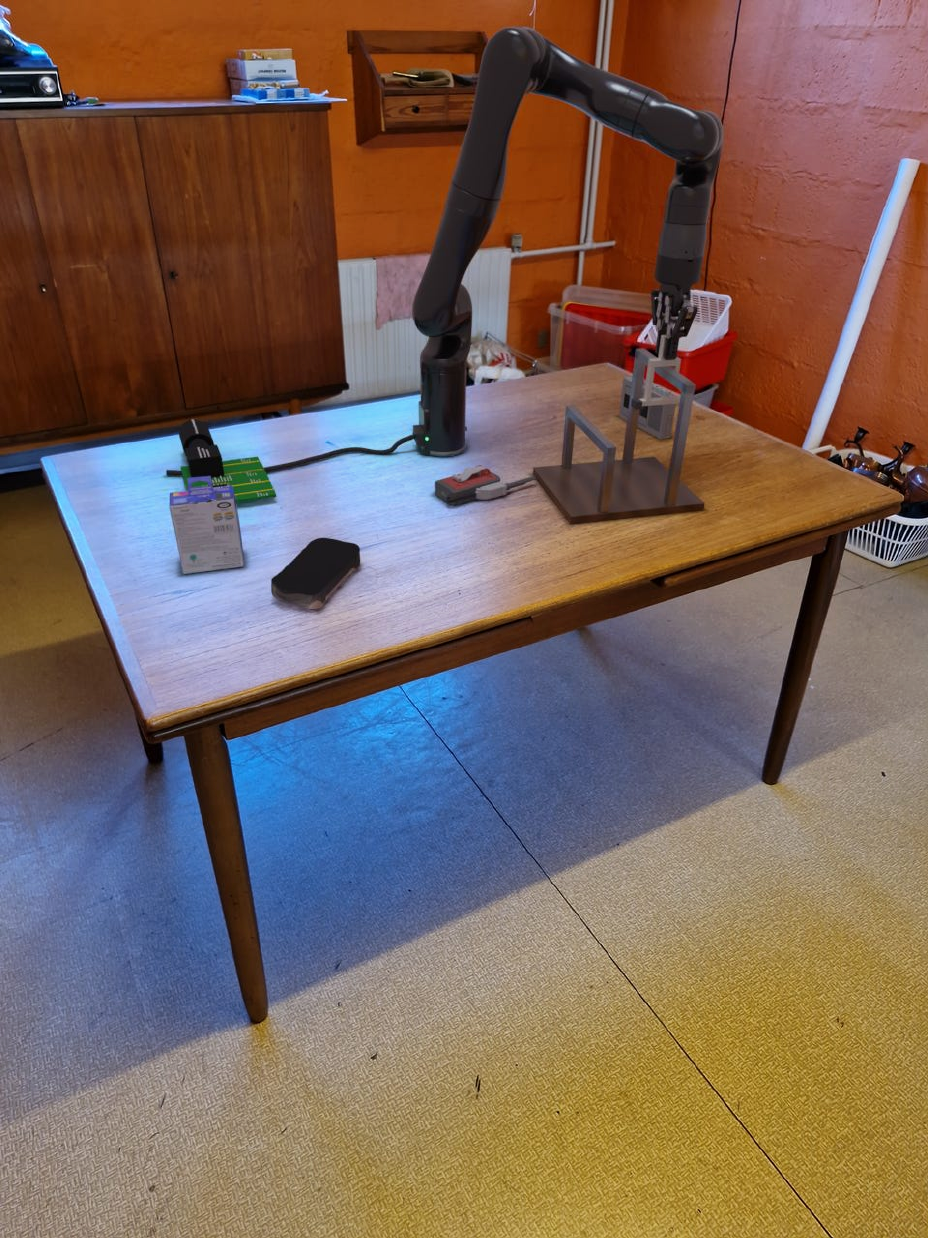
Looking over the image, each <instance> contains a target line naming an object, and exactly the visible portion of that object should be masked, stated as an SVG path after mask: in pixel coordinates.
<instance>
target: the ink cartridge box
mask: <svg viewBox="0 0 928 1238" xmlns="http://www.w3.org/2000/svg"><path fill="white" fill-rule="evenodd" d="M187 481H188V491H187V490H182V491H174V492H172V491H171V492H169V503H168V504H169V507H168V508H169V512H170V516H171V522H172V527H173V532H174V537H175V540H176V541H175V542H176V547H177V551H178V556H179V562H180V567H181V573H182V575H189V574H195V573H201V572H202V573H203V572H209V571H216V570H217V571H218V570H227V569H232V568H241V567H245V557H244V548H243V538H242V532H241V524H240V518H239V512H238V506H237V503H236V500H235V495H234V491H233V487H232V485H230V486H221V487H213V486H212V481H211V476H202V477H191V478H187ZM198 481H203V482H207V483H208V486H202V487H192V486H191V484H193V483H195V482H198Z"/></svg>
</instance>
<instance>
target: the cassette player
mask: <svg viewBox="0 0 928 1238" xmlns="http://www.w3.org/2000/svg"><path fill="white" fill-rule="evenodd" d="M632 378H633V375H632V376H627V377H623V378H622V386H621V394H620V405H619V410H618V411H619V412H618V417H619V418H621V419H622V420H624V421H626V422H627V418H628V410H629V402H630V394H631V386H632ZM645 383H646V378H644V379H643V387H642V394H641V399H643V398H644V391H645ZM670 396H673V394H672V392H671V391H670V390H668V389H666V388H665V387H662V386H660V385H658V384H656V383H654V382H653V386H652V393H651V398H657V397H670ZM676 406H677V404H666V405H653V406H642V409H639V417H638V424H637V428H639V429H640V430H642V431H644V432H646V433H648V434H650V435H651V436H653V437H655V438H656V439H658V440H661V441H662V440H666V439H671V437H672V431H673V424H674V418H675V411H676Z"/></svg>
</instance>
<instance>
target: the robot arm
mask: <svg viewBox="0 0 928 1238" xmlns="http://www.w3.org/2000/svg"><path fill="white" fill-rule="evenodd" d="M529 94H532V95H537V96H538V95H539V96H543V97H547V98H551V99H555V100H558V101H560V102H563V103H565V104H568V105H570V106H572V107H574V108H575V109H577V110H579V111H581V112H582V113H584V114H585V115H587V116H588V117H589V118H591V119H593V120H594V121H595V122H597V123H599V124H600V125H602V126H604V127H606V128H607V129H610V130H612V131H613V132H616V133H618V134H621V135H623V136H626V137H628V138H630V139H633V140H635V141H638V142H641V143H645V144H647V145H649V146H650V147H651V148H653V149H655V150H656V151H658V152H660V153H661V154H663V155H665V156H667V157H669V158H671V159H673V160H674V161H675V165H674V170H673V171H674V172H673V177H672V178H673V179H672V181H671V183H670V184H669V187H668V189H667V192H666V196H665V197H666V198H665V203H664V204H665V205H664V210H663V211H664V212H663V220H662V225H661V229H660V233H659V238H658V243H657V244H658V245H657V251H656V261H655V267H654V274H653V275H654V276H653V277H654V280H655V282H657V283H659V284H660V285H659V287H658V289H652V290H651V291H650V303H651V321H652V322H651V323H652V326H656V327H655V330H656V332H657V334H656V335H657V336H656V344H655V350H654V351H655V354H657V355H659V349H660V342H661V335H667V338H666V341H665V348H664V355H663V358H664V359H666V360H674V359H676V357H678V351H679V350H678V349H679V343H680V339H682V338H686V337H688V335H689V333H690V331H691V328H692V326H693V323H694V322H695V319H696V316H697V314H698V312H699V311H698V309H699V308H698V306H697V305H692V304H691V299H692V294H691V292H692V291H691V288H692V287H693V286H694V285H697V284H698V283H699V282H700V280H701V275H702V268H703V262H704V257H705V250H706V244H707V233H708V231H707V229H708V228H707V227H708V220H709V214H710V208H711V200H712V192H713V191H712V190H713V185H714V181H715V178H716V174H717V171H718V166H719V163H720V158H721V154H722V149H723V144H724V133H725V132H724V125H723V123H722V120H721V118H720V117H719V116H718V115H717V114H716V112H713V111H711V110H706V109H703V110H695V109H692V108H689V107H688V106H684V105H682V104H679V103H677V102H674V101H671V100H669V99H668V98H667V96H666V95H664V94H663V93H661V92H660V91H657V90H655V89H653V88H650V87H648V86H646V85H643V84H641V83H638V82H636V81H635V80H631V79H628V78H626V77H623V76H620V75H618V74H615V73H612V72H610V71H607V70H604V69H602V68H599V67H597V66H594V65H592V64H590V63H588V62H586V61H584V60H581V58H578V57H576V56H575V55H573V54H571V53H569V52H568V51H566V50H564V49H563V48H561V47H560V46H558V45H557V44H556V43H554V42H553V41H551V40H550V39H548V38H547V37H545V36H544V35H542V34H541V33H540V32H538V31H537V30H536V29H534V28H531V27H529V26H507V27H503V28H501V29H499V30H498V31H496V32H495V33H494V34H493V35H491V37H490V38H489V40H488V41H487V43H486V46H485V47H484V50H483V53H482V57H481V61H480V66H479V71H478V77H477V83H476V88H475V92H474V98H473V104H472V109H471V112H470V113H471V114H470V117H469V120H468V121H469V122H468V123H467V124H468V125H467V128H466V131H465V134H464V137H463V140H462V144H461V147H460V150H459V154H458V157H457V161H456V165H455V167H454V171H453V174H452V176H451V180H450V184H449V187H448V190H447V194H446V197H445V202H444V205H443V209H442V213H441V218H440V221H439V223H438V227H437V231H436V234H435V237H434V238H435V239H434V241H433V242H434V243H433V246H432V250H431V253H430V256H429V259H428V262H427V265H426V267H425V270H424V273H423V274H422V278H421V280H420V282H419V284H418V287H417V289H416V292H415V295H414V297H413V301H412V306H411V307H412V308H411V314H412V320H413V323H414V325H415V328H416V329H417V330H418V331H419V333H421V335H423V336H425V337H428V340H427V342H426V344H425V346H424V348H423V349H422V350H421V352H420V356H419V370H420V371H419V372H420V373H419V374H420V375H419V376H420V377H419V378H420V400H419V401H418V403H417V404H418V405H417V406H418V424H413V425H412V434H410V435H407V436H405V437H403V438H400V439H399V440H397V441H395V443H394V444H393V445H392V446H391V447H389V448H386V449H373V448H369V447H362V446H351V447H350V446H349V447H343V448H338V449H335V450H332V451H331V450H330V451H328V452H325V453H321V454H316V455H314V456H313V455H312V456H309V457H305V458H302V459H298V460H295V461H294V460H293V461H290V462H285V463H280V464H274V465H271V466H263V468H264V470H265V472H266V473H270V472H276V471H280V470H286V469H289V468H294V467H298V466H301V465H302V466H303V465H305V464H309V463H313V462H317V461H320V460H324V459H328V458H331V457H335V456H337V455H342V454H348V453H364V454H370V455H378V456H385V455H389V454H392V453H394V452H395V451H396V450H397V449H398V447H400V446H401V445H403V444H405V443H408V442H410V441H414V443H415V444H416V446H417V447H420V450H421V452H422V453H423V455H424V456H434V457H452V456H453V457H454V456H457V455H460V454H462V453H464V452H465V451H466V447H467V444H466V432H467V431H468V430H467V429H468V427H467V426H466V416H467V415H466V411H467V410H466V409H467V408H466V407H467V403H466V402H467V360H468V356H469V354H470V352H471V345H472V331H473V303H472V298H471V295H470V293H469V291H468V289H467V287H466V286H465V285H464V284H463V283H462V282H463V279H464V276H465V274H466V272H467V269H468V268H469V266H470V264H471V262H472V260H473V259H474V258H475V255H476V254H477V253H478V251H479V249H480V248H481V247H482V244H483V243H484V242H485V240H486V238H487V236H488V235H489V233H490V231H491V229H492V228H493V225H494V222H495V220H496V217H497V214H498V211H499V208H500V205H501V202H502V199H503V195H504V192H505V187H506V182H507V173H508V155H509V154H508V152H509V142H510V136H511V132H512V129H513V126H514V124H515V120H516V117H517V115H518V113H519V109H520V107H521V104H522V103H523V99H524V98H525V95H529ZM417 447H416V448H417ZM166 476H176V477H177V476H178V477H180V476H181V477H183V475H182V472H181V470H177V469H174V470H173V469H166Z"/></svg>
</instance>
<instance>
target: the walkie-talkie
mask: <svg viewBox="0 0 928 1238" xmlns="http://www.w3.org/2000/svg"><path fill="white" fill-rule="evenodd" d="M533 481H537V479H536V477H535V476H534V475H532V476H529V477H525V478H522V479H519V480H515V481H513V482H509V483H508V482H507V483H503V482H502V481H501V477H500V476H499V475H497V474H496V473H494V472H492V471H491V470H490V469H489V468H488V467H486V466H484V465H483V464H479V465H476V466H472V467H469V468H465V469H464V470H463V472H461V473H458V474H456V473H455V474H454V473H453V474H452V475H451V476H448V477H445V478H441V479H437V480H435V481H434V495H435V496H436V497H438V498H440V499H441V500H442V501H444V502H446V504H449V505H452V506H457V505H461V504H464V503H467V502H470V501H473V500H492V499H494V498H498V497H501V496H505V495H507V493H508V491H510V490H511V489H514V488H518V487H520V486H524V485H526V483H529V482H533Z"/></svg>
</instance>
